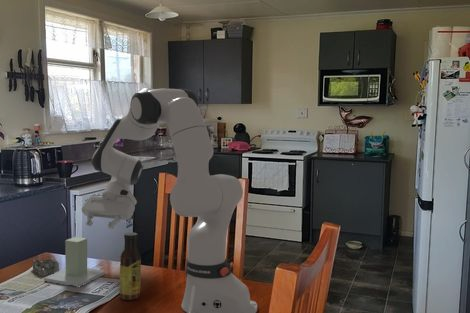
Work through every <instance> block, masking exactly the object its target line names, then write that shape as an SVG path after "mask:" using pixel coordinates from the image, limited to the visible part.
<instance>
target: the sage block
mask: <svg viewBox="0 0 470 313" xmlns="http://www.w3.org/2000/svg"><path fill="white" fill-rule="evenodd" d="M64 244H65V246H64V247H65V250H64V251H65V253H64V254H65V255H64V256H65V268H66V275H69V276H74V277H79V276H81V275H83V274H85V273H87V268H88V238H86V237H80V236H74V237H73V236H72V237H71V238H67V239H66V240H65V242H64Z"/></svg>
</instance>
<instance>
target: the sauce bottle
mask: <svg viewBox="0 0 470 313" xmlns="http://www.w3.org/2000/svg"><path fill="white" fill-rule="evenodd" d="M138 234H139V233H136V232H125V233H124V235H123V236H124V237H123V238H124V248H123V250H122V252H121V254H120V263H119V298H120V299H121V300H123V301H133V300H136V299H137V300H138V299H139V297H140V293H141V276H142V274H141V268H142V264H141V263H142V259H141V255H140V252H139V250H138V238H139V235H138Z"/></svg>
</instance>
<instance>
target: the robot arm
mask: <svg viewBox="0 0 470 313" xmlns="http://www.w3.org/2000/svg"><path fill="white" fill-rule="evenodd" d="M161 124H162V125H163V124H166V125H167V128H168V133H169V136H170V139H171V142H172V146H173V150H174V153H175V158H176V162H177V177H176V181H175V184H174V185H173V187H172V188H171V190H170V195H169V200H170V206H171V208H172V210H173V211H174V213H175V214H177V215H178V216H180V217H188V218H197V220H196V222H195V224H194V225H193V226H192V228H191V229H190V230H189V233H188V237H187V238H188V239H187V258H186V262H185V264H186V265H185V277H186V284H185V289H184V294H183V299H182V303H181V304H180V306H181V309H182V310H183V311H184V312H185V313H257V312H258V303H257V302H256V301H255V300H251V294H250V291H249V287H248V286H247V285H246V284H245V283H243V282H242V281H241V280H240V279H239V278H238V277H237V276H235V275H234V274H233V272H232V267H233V263H234V262H233V261H232V262H228V260H227V258H226V252H227V251H226V250H227V249H226V248H227V247H226V246H227V236H228V229H229V225H230V223H231V219H232V216H233V213H234V210H235V209H236V207H237V206H238V204H239V203H240V202H241V200H242V199H243V194H244V192H243V190H244V189H243V185H242V183H241V181H240V180H239V179H238V178H237V177H235V176H233V175H230V174H223V173H222V174H221V173H219V174H213V175H211V174H210V170H209V163H210V160H211V159H212V158H213V156H214V146H213V144H212V141H211V137H210V135H209V132H208V127H207V125H206V122H205V119H204V117H203V115H202V113H201V110H200V109H199V101H198V97H197V96H196V94H195V92H194V91H193V90H191V89H188V88H178V89H177V88H156V89H155V88H151V87H145V88H142V89H141V90H139V91H136V93H134V94H133V95H132V97H131V99H130V105H129V110H128V112H127V114H126V115H125V116H121V117H120V116H119V117H118V118H117V119H115V121H114V122H113V123H112V125H111V127H110V128H109V130H108V132H107V134H106V135H105V137H104V139H103V141H102V142H101V144H100V145H99V147H98V148H97V149H96V150H95V152H94V153H93V155H92V157H91V164H92V167H93V168H94V171H97V172H100V173H104V174H106V175H109V176H111V178H110V181H109V182H108V183H107V184H106V186H105V188H104V190H103V192H102V193H100V194H98V193H94V194H92V195H90V196H89V197H88V198H87V200H86V201H85V202H84V204H83V206H82V207H81V212H82V214H83V215H84V216H85V217H87V221H86V222H85V224H86V226H87V227H92V225H93V224H94V222H93V221H92V219H94V218H101V219H102V218H105V219H113V220H112V221H109V222H108V225H107V227H108V228H109V229H114V228H115V226H116V225H117V224H118V223H120V221H121V220H124V221H129V220H130V219H131V218H132V217H133V214H134V212H135V209H136V207H135V206H136V205H137V203H138V201H137V199H136V197H135V196H134V194H133V193H132V192H131V191H130V189H131V188H132V187H133V185H136V184H137V183H138V181H139V178H140V176H141V175H142V172H143V170H144V167H143V164H142V161H141V160H140V159H139V158H137V157H134V156H133V155H130V154H127V153H125V152H123V151H120V150H118V149H116V148H114V145H115V143H116V142H117V140H122V139H123V140H132V141H145V140H148V139H149V138H151V137H153V136H154V134H155V133H156V132H157V130H158V127H159V125H161Z"/></svg>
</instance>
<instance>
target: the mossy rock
mask: <svg viewBox="0 0 470 313" xmlns="http://www.w3.org/2000/svg"><path fill="white" fill-rule="evenodd" d="M32 260H33V263H32V270H33V269H35V270H34V271H35V273H37V272H39V273H38V276H43V275H45V276H48V274H47V273H50V274H53V273H56V272H58V271H60V262H59V261H58V260H56V259H55V257H51V258H47V259H44V258H43V259H42V260H41V261H40V259H39V258H36V259H35V258H34V257H32ZM43 269H44V270H43Z"/></svg>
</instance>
